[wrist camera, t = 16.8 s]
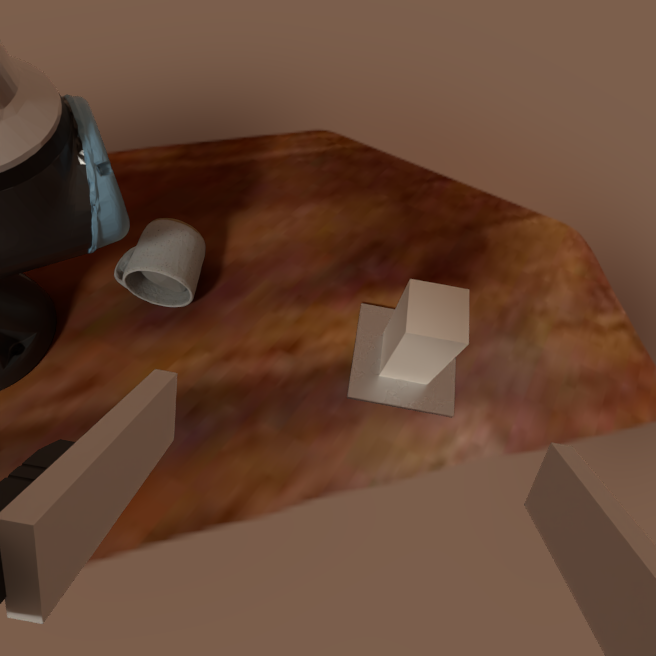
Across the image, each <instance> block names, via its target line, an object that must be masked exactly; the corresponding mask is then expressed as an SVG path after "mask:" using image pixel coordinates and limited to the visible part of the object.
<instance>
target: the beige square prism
mask: <svg viewBox="0 0 656 656" xmlns="http://www.w3.org/2000/svg"><path fill="white" fill-rule="evenodd" d="M468 344H469V289H464V288H459V287H453V286H448V285H442V284H437V283H431V282H426V281H420V280H414V279H410V280H409V282H408V284H407V286H406V288H405V290H404V292H403V294H402V296H401V298H400V300H399V302H398V304H397V306H396V308H395V310H394V313H393V315H392V317H391V319H390V321H389V323H388V325H387V327H386V329H385V331H384V335H383V344H382V353H381V362H380V371H379V376H383V377H388V378H394V379H399V380H405V381H411V382H416V383H422V384H428V383H429V382H430V381H431V380H432V379H433V378H434V377H435V376H436V375H438V374H439V373H440V372H441V371H442V370H443V369H444V368H445V367H446V366H447V365H448V364H449V363H450V362H451V361H452V360H453V359H454V358H455V357H456V356H457V355H458V354H459V353H460V352H461V351H462V350H463V349H464V348H465V347H466V346H467V345H468Z"/></svg>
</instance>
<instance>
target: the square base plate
mask: <svg viewBox="0 0 656 656" xmlns="http://www.w3.org/2000/svg"><path fill="white" fill-rule="evenodd" d="M394 310H395V309H390V308H384V307H379V306H374V305H368V304H363V303H361V307H360V314H359V320H358V327H357V334H356V340H355V347H354V354H353V360H352V367H351V374H350V380H349V387H348V393H347V398H349V399H355V400H360V401H365V402H371V403H376V404H382V405H387V406H392V407H398V408H403V409H408V410H414V411H419V412H425V413H430V414H435V415H441V416H446V417H451V418H452V417H454V399H455V368H456V357H455V358H454V359H453V360H452V361H451V362H450V363H449V364H448V365H447V366H446V367H445V368H444V369H443V370H442V371H441V372H440V373H439V374H438V375H436V376H435V377H434V378H433V379H432V380H431V381H430V382H429V383H428V384H422V383H416V382H411V381H405V380H399V379H394V378H388V377H383V376H379V371H380V362H381V353H382V344H383V335H384V331H385V329H386V327H387V325H388V323H389V321H390V319H391V317H392V315H393V313H394Z"/></svg>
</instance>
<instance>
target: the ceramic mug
mask: <svg viewBox="0 0 656 656" xmlns="http://www.w3.org/2000/svg"><path fill="white" fill-rule="evenodd" d="M204 257H205V241H204V239H203V237H202V236H201V234H200V233H199V232H198V231H197V230H196V229H195V228H193V227H192V226H191V225H189V224H187V223H185V222H183V221H180V220H177V219H172V218H159V219H156V220H153V221H152V222H151V223H149V224H148V225H147V227H146V228H145V229H144V231H143V233H142V235H141V237H140V239H139V241H138V244H137V246H135V247H133V248H131V249H130V250H129V251H127V252H126V253H125V254H124V255H123V256H122V258H121V259H120V260H119V262H118V264H117V266H116V268H115V272H114V276H115V278H116V280H117V281H118V282H119V283H120V284H121V285H123V286H124V287H126V288H127V289H128V290H129V291H130V292H132V293H133V294H134V295H136V296H137V297H140V298H141V299H143V300H146V301H148V302H150V303H153V304H157V305H162V306H167V307H182V306H186V305H188V304H190V303H191V302H192V300H193V299H194V295H195V291H196V287H197V283H198V280H199V276H200V272H201V267H202V264H203V261H204Z"/></svg>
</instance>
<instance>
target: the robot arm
mask: <svg viewBox="0 0 656 656" xmlns="http://www.w3.org/2000/svg"><path fill="white" fill-rule="evenodd" d="M129 227H130V221H129V217H128V214H127V210H126V207H125V204H124V201H123V198H122V195H121V192H120V189H119V186H118V184H117V181H116V178H115V175H114V173H113V170H112V168H111V164H110V161H109V158H108V156H107V152H106V149H105V147H104V143H103V141H102V138H101V135H100V132H99V130H98V127H97V124H96V122H95V119H94V116H93V114H92V111H91V109H90V106H89V104H88V102H87V101H86V100H85V99H84V98H82V97H79V96H73V97H72V96H70V95H65V96H63V97H61V96H60V94H59V92H58V90H57V89H56V87H55V85H54V84H53V83H52V82H51V80H50V79H49V78H48V76H47V75H46V74H45V73H44V72H42V71H41V70H40V69H38V68H37V67H35V66H33V65H32V64H30V63H28V62H25V61H23V60H21V59H18V58H15V57H12V56H9V54H8V52H7V51H6V49H5V48H4V46H3V44H2V43H1V41H0V390H3V389H5V388H6V387H8V386H10V385H12V384H13V383H15V382H17V381H18V380H20V379H21V378H22V377H24V376H25V375H26V374H27V373H28V372H29V371H31V370H32V369H33V368H34V367H35V366H36V365H37V363H38V362H39V361H40V360H41V359H42V357H43V356H44V354H45V353H46V351H47V350H48V348H49V346H50V344H51V342H52V339H53V336H54V333H55V328H56V311H55V307H54V304H53V302H52V300H51V298H50V297H49V295H48V294H47V293H46V292H45V291H44V290H43V289H42V288H41V287H40V286H39V285H38V284H37V283H36V282H34V281H33V280H32V279H31V278H29V277H28V276H26V275H25V274H23V273H22V272H26V271H29V270H33V269H36V268H39V267H43V266H46V265H50V264H53V263H56V262H60V261H63V260H67V259H70V258H73V257H77V256H80V255H83V254H87V253H89V254H90V253H93V252H94V251H96V249H98V248H101V247H103V246H106V245H109V244H111V243H114V242H116V241H119V240H121V239H122V238H124V237H125V236H126V235H127V233H128V231H129ZM176 387H177V373H174V372H168V371H163V370H158V369H155V370H154V371H153V372H152V373H151V374H150V375H148V376H147V377H146V378H145V379H144V380H143V381H142V382H141V383H140V384H139V385H138V386H136V387H135V388H134V389H133V390H132V391H131V392H130V393H129V394H128V395H127V396H126V397H125V398H123V399H122V400H121V401H120V402H119V403H118V404H117V405H116V406H115V407H114V408H113V409H112V410H110V411H109V412H108V413H107V414H106V415H105V416H104V417H103V418H102V419H101V420H100V421H98V422H97V423H96V424H95V425H94V426H93V427H92V428H91V429H90V430H89V431H88V432H87V433H85V434H84V435H83V436H82V437H81V438H80V439H79V440H78V441H77V442H71V441H66V440H58V441H56V442H54V443H52V444H49V445H47V446H45V447H43V448H41V449H39V450H38V451H37V452H35V453H34V454H33V455H32V456H31V457H29V458H28V459H27V460H26V461H25V462H23V463H22V466H19V467H17V468H16V469H15V470H14V471H13V472H11V473H10V474H9V476H8V478H4V479H3V480H2V481H1V482H0V604H1V602H2V601H3V600H4V599H5V602H6V610H7V617H8V618H14V619H19V620H24V621H30V622H35V623H41V624H43V623H44V622H45V620H46V619H47V617H48V616H49V615H50V613H51V612H52V610H53V609H54V607H55V606H56V605H57V603H58V602H59V600H60V599H61V597H62V596H63V595H64V593H65V592H66V591H67V589H68V588H69V586H70V585H71V583H72V582H73V581H74V579H75V578H76V576H77V575H78V574H79V572H80V571H81V569H82V568H83V567H84V565H85V564H86V562H87V561H88V560H89V558H90V557H91V555H92V554H93V553H94V551H95V550H96V548H97V547H98V546H99V544H100V543H101V541H102V540H103V539H104V537H105V536H106V534H107V533H108V531H109V530H110V529H111V527H112V526H113V524H114V523H115V522H116V520H117V519H118V517H119V516H120V515H121V513H122V512H123V510H124V509H125V508H126V506H127V505H128V503H129V502H130V501H131V499H132V498H133V496H134V495H135V493H136V492H137V491H138V489H139V488H140V486H141V485H142V484H143V482H144V481H145V479H146V478H147V477H148V475H149V474H150V472H151V471H152V470H153V468H154V467H155V465H156V464H157V463H158V461H159V460H160V458H161V457H162V455H163V454H164V453H165V451H166V450H167V448H168V447H169V446H170V444H171V443H172V441H173V440H174V424H175V406H176ZM524 505H525V507H526V509H527V511H528V513H529V515H530V516H531V518H532V520H533V522H534V524H535V526H536V528H537V529H538V531H539V533H540V535H541V537H542V539H543V541H544V542H545V544H546V546H547V548H548V550H549V552H550V554H551V555H552V558H553V559H554V561H555V563H556V565H557V567H558V569H559V571H560V572H561V574H562V576H563V578H564V580H565V582H566V583H567V586H568V587H569V589H570V591H571V593H572V595H573V597H574V599H575V600H576V602H577V604H578V606H579V608H580V610H581V611H582V613H583V615H584V617H585V619H586V621H587V623H588V625H589V627H590V628H591V630H592V632H593V634H594V636H595V638H596V639H597V641H598V643H599V645H600V647H601V649H602V651H603V653H604V655H605V656H656V545H655V544H654V542H653V541H652V540H651V539H650V538H649V537H648V535H647V534H646V533H645V532H644V531H643V529H642V528H641V527H640V526H639V525H638V523H637V522H636V521H635V520H634V519H633V517H632V516H631V515H630V514H629V513H628V512H627V510H626V509H625V508H624V507H623V506H622V504H621V503H620V502H619V501H618V500H617V498H616V497H615V496H614V495H613V494H612V493H611V492H610V490H609V489H608V488H607V487H606V485H605V484H604V483H603V482H602V481H601V479H600V478H599V477H598V476H597V475H596V474H595V473H594V471H593V470H592V469H591V468H590V466H589V465H588V464H587V463H586V462H585V461H584V459H583V458H582V457H581V456H580V455H579V453H578V452H577V451H576V450H575V449H574V448H573V447H572V446H567V445H562V444H556V443H551V444H550V446H549V448H548V451H547V453H546V455H545V457H544V460H543V462H542V465H541V467H540V469H539V472H538V474H537V476H536V478H535V481H534V483H533V486H532V488H531V490H530V493H529V495H528V497H527V499H526V502H525V504H524Z"/></svg>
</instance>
